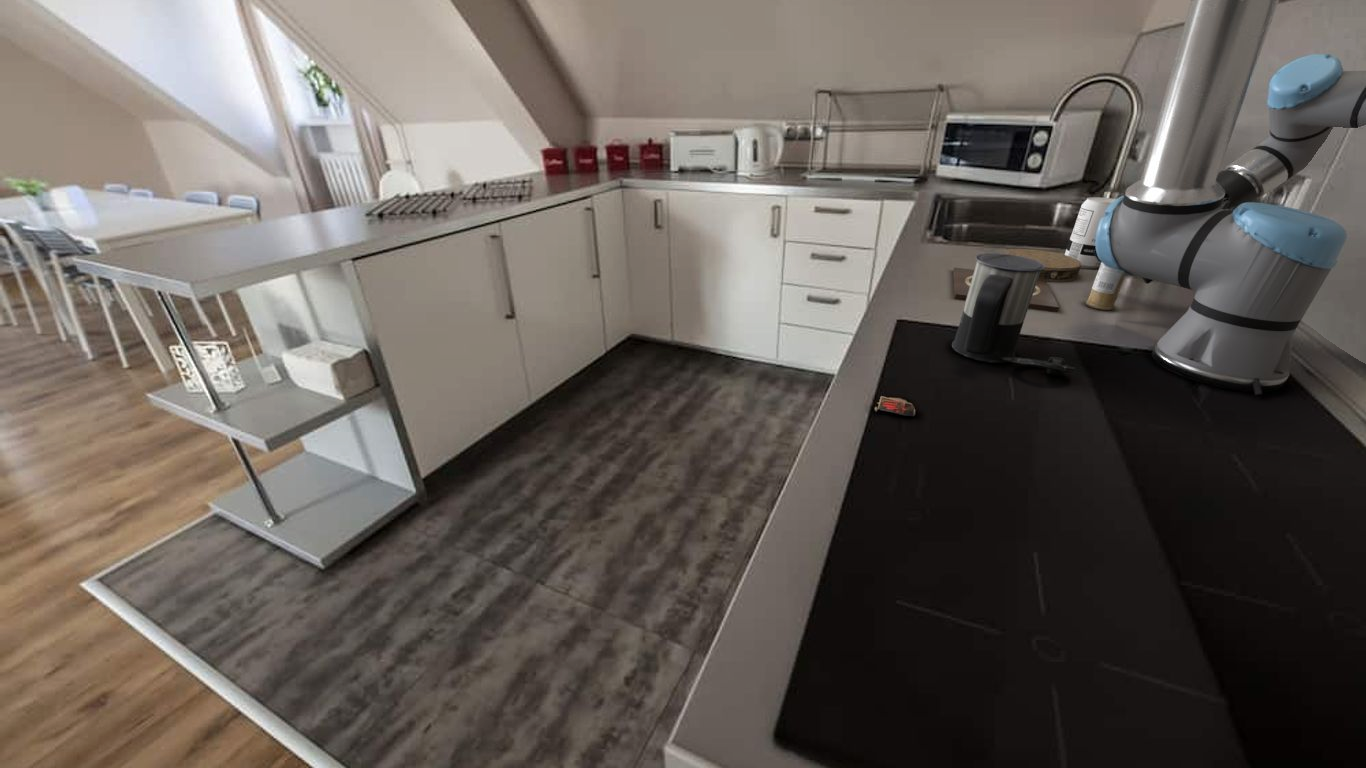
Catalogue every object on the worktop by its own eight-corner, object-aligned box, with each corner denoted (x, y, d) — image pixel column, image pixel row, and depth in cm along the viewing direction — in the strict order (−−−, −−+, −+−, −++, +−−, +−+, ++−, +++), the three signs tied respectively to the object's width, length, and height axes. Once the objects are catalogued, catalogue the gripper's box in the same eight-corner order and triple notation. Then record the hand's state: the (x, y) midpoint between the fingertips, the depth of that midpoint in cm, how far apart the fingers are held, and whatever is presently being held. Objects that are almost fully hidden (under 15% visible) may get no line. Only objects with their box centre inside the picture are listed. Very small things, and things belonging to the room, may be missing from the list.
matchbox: (917, 418, 71) (918, 414, 70) (876, 414, 71) (876, 411, 71) (910, 400, 75) (910, 396, 74) (870, 396, 75) (871, 393, 75)
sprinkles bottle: (1118, 308, 107) (1146, 238, 101) (1103, 312, 106) (1132, 241, 99) (1093, 301, 111) (1119, 233, 105) (1079, 304, 109) (1105, 235, 103)
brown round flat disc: (986, 260, 136) (990, 248, 135) (1052, 262, 136) (1056, 249, 134) (1018, 280, 122) (1022, 267, 121) (1092, 282, 122) (1097, 269, 120)
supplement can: (1069, 257, 139) (1091, 195, 132) (1107, 265, 134) (1132, 200, 127) (1056, 263, 135) (1078, 199, 128) (1095, 271, 129) (1120, 204, 122)
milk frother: (950, 336, 94) (973, 249, 87) (1056, 351, 89) (1090, 260, 82) (953, 371, 83) (980, 274, 76) (1075, 391, 78) (1116, 289, 71)
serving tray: (1057, 312, 105) (1059, 306, 105) (954, 298, 111) (956, 293, 111) (1042, 282, 122) (1044, 277, 121) (953, 271, 128) (954, 266, 127)
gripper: (1315, 215, 87) (1175, 303, 95) (1194, 188, 109) (1088, 262, 117) (1298, 179, 85) (1156, 272, 92) (1178, 159, 107) (1071, 236, 114)
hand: (1118, 266), depth 105 cm, fingers open, 13 cm apart
